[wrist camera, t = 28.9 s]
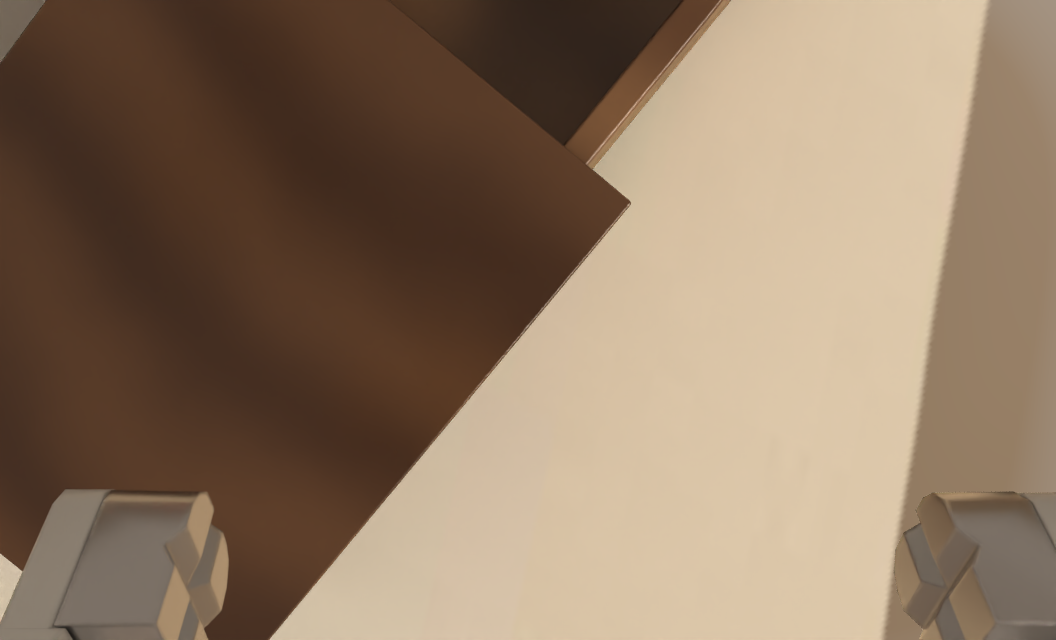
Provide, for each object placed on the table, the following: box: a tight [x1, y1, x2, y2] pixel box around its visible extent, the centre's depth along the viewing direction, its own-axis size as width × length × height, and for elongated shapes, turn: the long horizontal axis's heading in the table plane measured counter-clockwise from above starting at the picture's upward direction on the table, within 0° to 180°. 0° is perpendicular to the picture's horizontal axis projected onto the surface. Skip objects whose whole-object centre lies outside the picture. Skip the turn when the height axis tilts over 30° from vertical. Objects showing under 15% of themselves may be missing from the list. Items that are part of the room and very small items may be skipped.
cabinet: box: [0, 0, 631, 640], centre depth 26 cm, size 17×14×9 cm
